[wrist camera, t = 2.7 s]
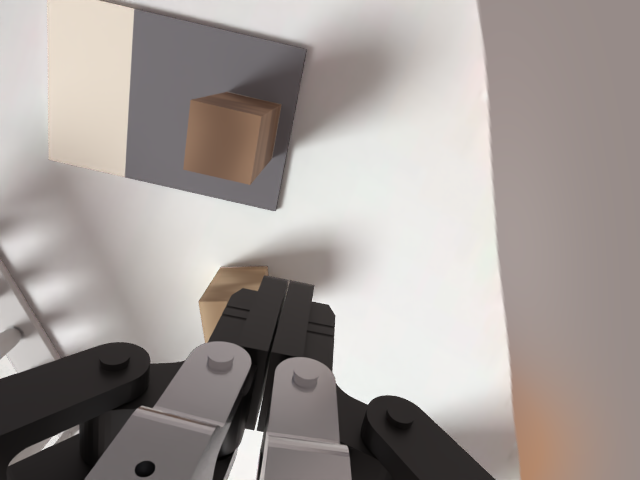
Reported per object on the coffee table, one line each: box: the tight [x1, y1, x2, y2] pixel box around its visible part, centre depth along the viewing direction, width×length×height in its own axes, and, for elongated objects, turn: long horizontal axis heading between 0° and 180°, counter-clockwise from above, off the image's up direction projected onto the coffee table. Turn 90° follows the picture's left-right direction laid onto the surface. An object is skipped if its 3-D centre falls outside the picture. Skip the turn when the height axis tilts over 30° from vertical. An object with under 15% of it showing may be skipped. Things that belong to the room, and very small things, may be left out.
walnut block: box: [183, 92, 282, 185], centre depth 29 cm, size 4×4×8 cm
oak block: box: [199, 266, 269, 343], centre depth 36 cm, size 4×4×6 cm
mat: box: [47, 0, 307, 211], centre depth 33 cm, size 18×12×1 cm, turn 78°
